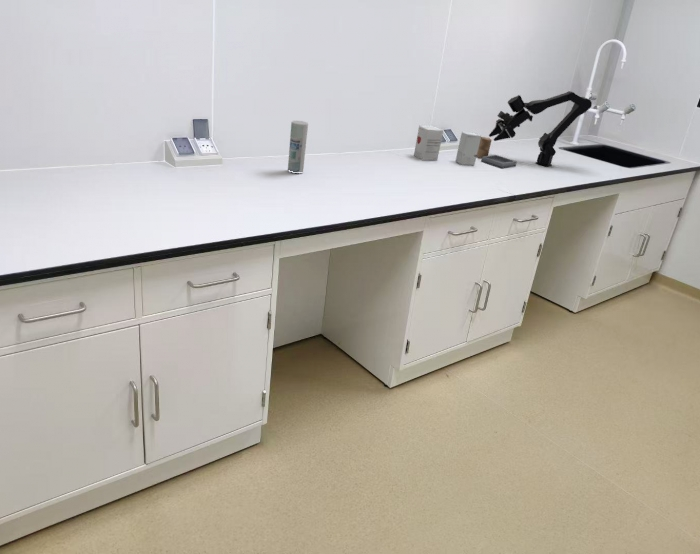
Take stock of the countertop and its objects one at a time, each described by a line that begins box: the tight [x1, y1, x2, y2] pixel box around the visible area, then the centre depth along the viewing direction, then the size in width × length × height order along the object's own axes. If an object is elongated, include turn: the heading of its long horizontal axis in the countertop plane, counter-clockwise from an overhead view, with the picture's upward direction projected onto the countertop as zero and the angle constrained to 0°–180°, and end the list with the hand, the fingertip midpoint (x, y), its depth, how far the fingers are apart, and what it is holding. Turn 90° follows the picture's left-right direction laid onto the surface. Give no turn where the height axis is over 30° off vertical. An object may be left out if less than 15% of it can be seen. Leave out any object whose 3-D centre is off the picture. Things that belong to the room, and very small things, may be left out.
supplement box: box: [413, 124, 444, 161], centre depth 285 cm, size 9×9×15 cm
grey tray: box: [480, 154, 517, 169], centre depth 296 cm, size 13×13×2 cm
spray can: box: [287, 120, 309, 173], centre depth 232 cm, size 6×6×20 cm
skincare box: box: [455, 131, 482, 166], centre depth 285 cm, size 8×6×15 cm
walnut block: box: [476, 136, 492, 159], centre depth 303 cm, size 5×5×10 cm
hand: (491, 138), depth 301 cm, fingers open, 9 cm apart
